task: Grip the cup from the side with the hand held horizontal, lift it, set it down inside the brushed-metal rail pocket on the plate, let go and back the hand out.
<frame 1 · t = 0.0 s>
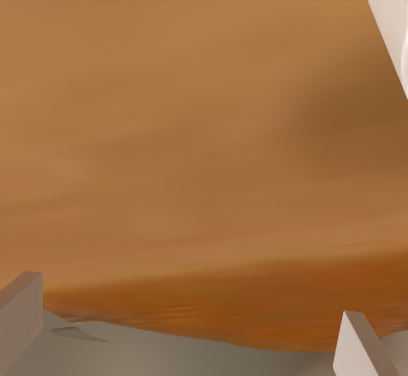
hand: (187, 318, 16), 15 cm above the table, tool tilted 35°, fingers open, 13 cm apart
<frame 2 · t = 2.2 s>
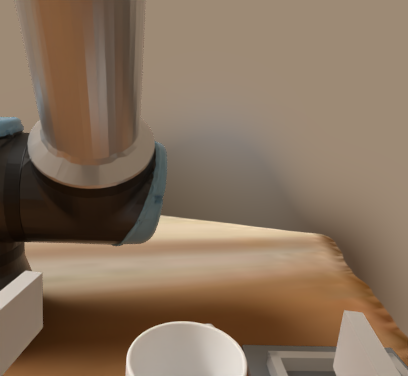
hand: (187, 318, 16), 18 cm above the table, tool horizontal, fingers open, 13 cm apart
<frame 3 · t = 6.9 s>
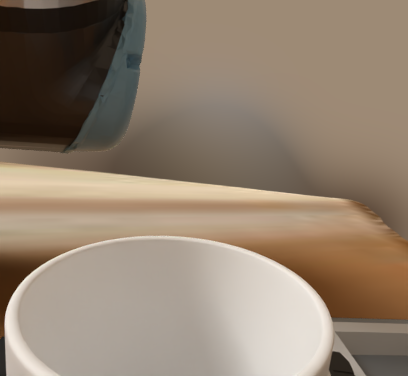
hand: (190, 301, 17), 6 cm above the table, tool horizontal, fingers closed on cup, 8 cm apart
when the fingers open (8 cm above the table, at t = 12.8 s): cup drops 1 cm, resting on rail plate.
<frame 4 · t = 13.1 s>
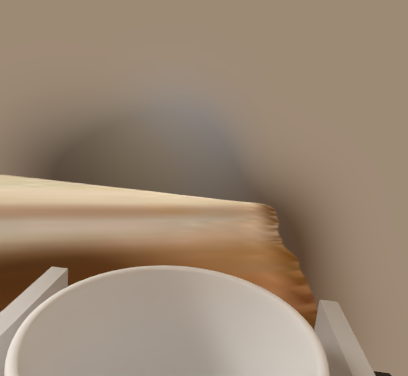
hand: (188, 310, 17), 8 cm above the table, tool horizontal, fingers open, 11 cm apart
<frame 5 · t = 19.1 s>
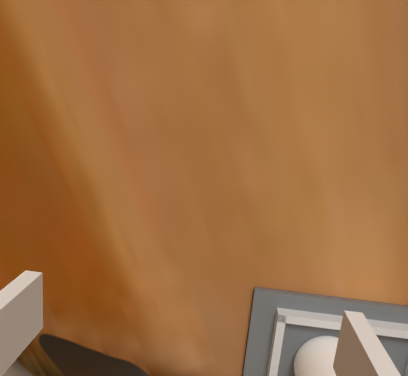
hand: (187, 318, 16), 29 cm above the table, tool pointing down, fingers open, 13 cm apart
rail plate: (338, 361, 48), on the table
cup: (337, 367, 47), point 1 cm above the table, touching rail plate
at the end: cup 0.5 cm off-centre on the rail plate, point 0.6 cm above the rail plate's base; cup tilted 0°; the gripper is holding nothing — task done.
